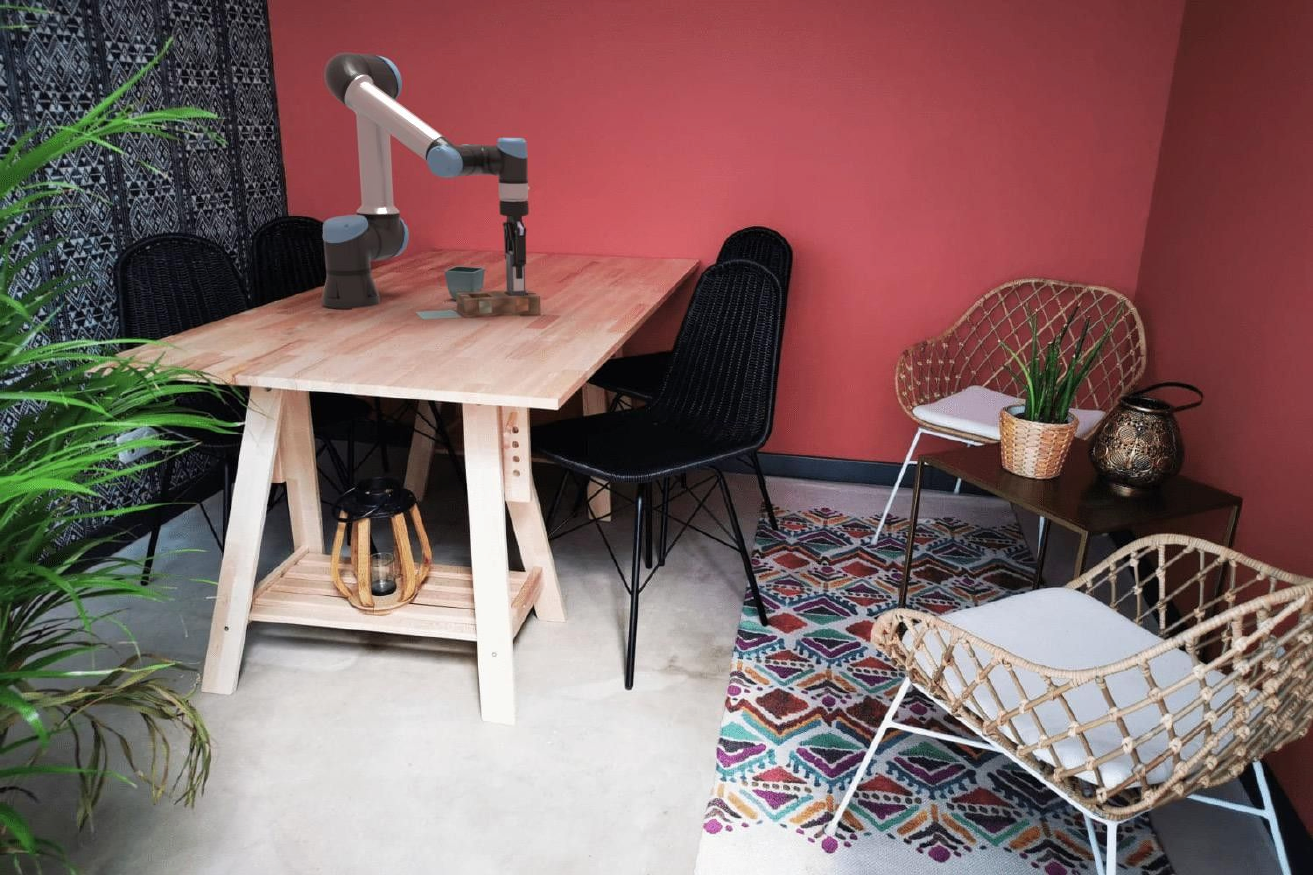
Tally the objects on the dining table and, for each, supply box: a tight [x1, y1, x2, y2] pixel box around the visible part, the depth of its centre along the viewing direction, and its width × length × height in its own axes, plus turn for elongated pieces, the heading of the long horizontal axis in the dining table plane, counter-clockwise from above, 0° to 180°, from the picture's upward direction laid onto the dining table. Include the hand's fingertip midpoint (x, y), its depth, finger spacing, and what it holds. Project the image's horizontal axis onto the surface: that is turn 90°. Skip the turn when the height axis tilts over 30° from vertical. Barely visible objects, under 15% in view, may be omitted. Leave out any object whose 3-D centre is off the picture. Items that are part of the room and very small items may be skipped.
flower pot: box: [444, 265, 486, 301], centre depth 267 cm, size 9×9×9 cm
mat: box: [415, 309, 462, 321], centre depth 247 cm, size 10×10×1 cm
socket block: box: [455, 288, 542, 319], centre depth 252 cm, size 20×11×5 cm, turn 114°
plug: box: [505, 251, 526, 296], centre depth 252 cm, size 4×4×13 cm
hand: (516, 289), depth 253 cm, fingers closed on plug, 4 cm apart
